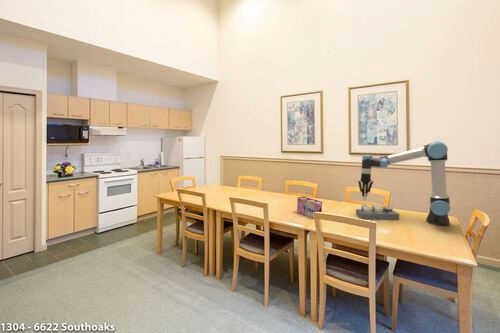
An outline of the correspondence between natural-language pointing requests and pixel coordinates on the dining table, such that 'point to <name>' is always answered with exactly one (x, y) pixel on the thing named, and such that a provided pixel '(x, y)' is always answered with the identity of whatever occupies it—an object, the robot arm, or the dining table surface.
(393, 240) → the dining table surface
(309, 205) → the gum box
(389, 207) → the switch
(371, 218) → the console
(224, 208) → the dining table surface
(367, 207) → the switch
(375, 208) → the switch
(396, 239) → the dining table surface
